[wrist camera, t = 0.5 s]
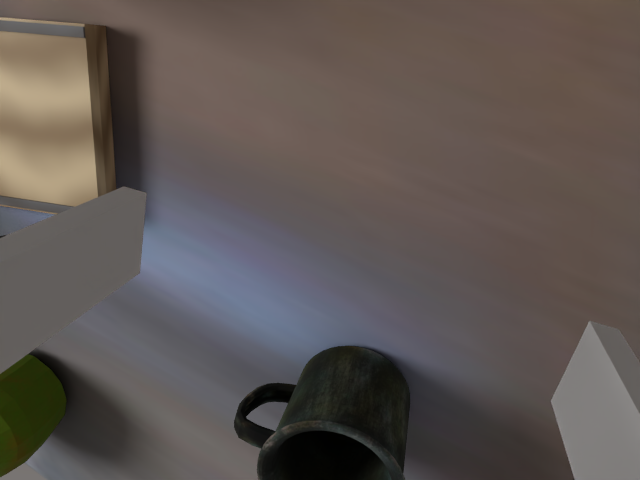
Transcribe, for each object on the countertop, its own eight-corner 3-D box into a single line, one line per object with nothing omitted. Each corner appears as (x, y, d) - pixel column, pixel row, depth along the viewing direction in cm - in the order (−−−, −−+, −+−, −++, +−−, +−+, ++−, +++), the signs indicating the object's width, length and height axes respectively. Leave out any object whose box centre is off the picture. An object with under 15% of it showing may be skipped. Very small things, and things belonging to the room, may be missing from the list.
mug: (399, 451, 50) (387, 563, 39) (257, 406, 52) (207, 500, 41) (429, 357, 46) (424, 453, 35) (274, 313, 48) (223, 390, 37)
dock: (-56, 13, 45) (-91, 10, 42) (107, 26, 42) (82, 23, 39) (-27, 189, 51) (-56, 197, 48) (119, 211, 48) (98, 221, 45)
